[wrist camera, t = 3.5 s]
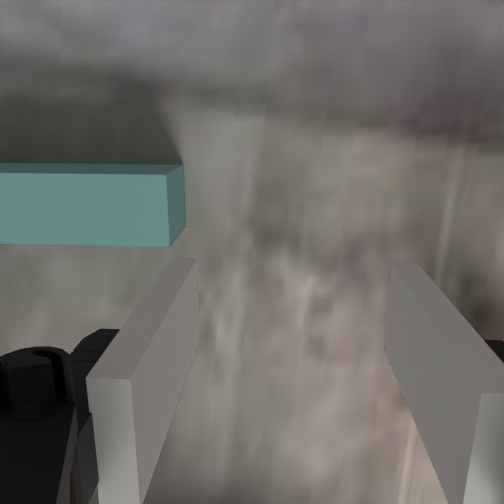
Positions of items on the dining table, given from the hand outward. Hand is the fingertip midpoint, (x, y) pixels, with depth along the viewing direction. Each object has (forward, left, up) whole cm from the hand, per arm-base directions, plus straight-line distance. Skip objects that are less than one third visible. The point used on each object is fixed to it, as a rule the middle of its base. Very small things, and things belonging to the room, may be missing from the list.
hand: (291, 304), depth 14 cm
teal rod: (+16, 0, -17) cm, 23 cm away
